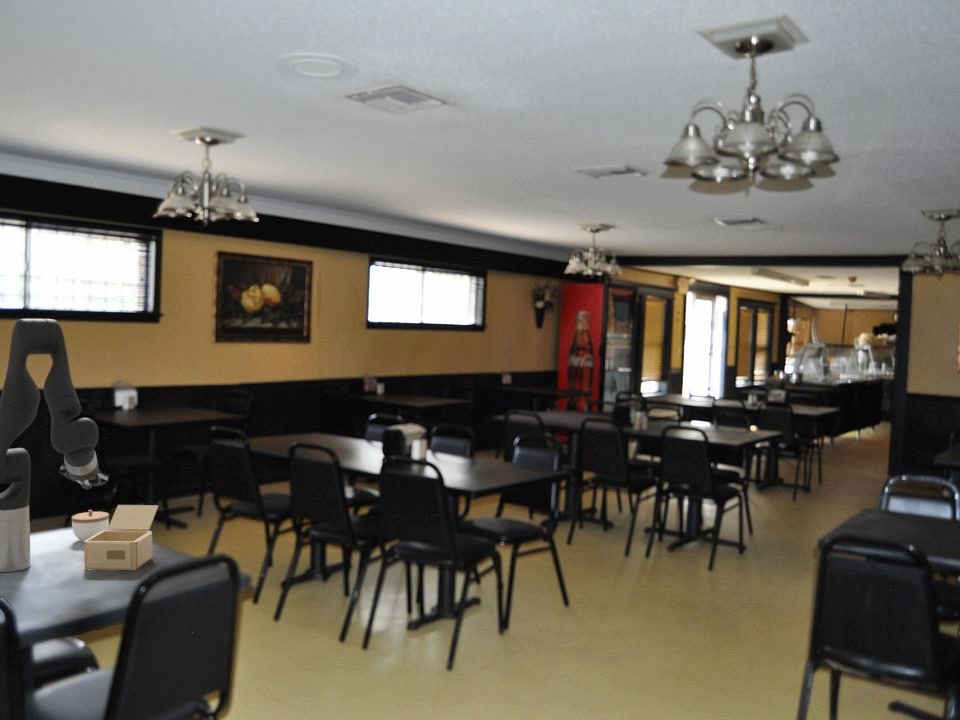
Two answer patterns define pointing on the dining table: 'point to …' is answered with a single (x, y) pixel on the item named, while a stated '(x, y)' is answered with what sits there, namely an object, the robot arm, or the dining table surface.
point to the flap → (133, 517)
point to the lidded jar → (89, 524)
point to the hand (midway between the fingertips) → (87, 485)
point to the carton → (118, 550)
